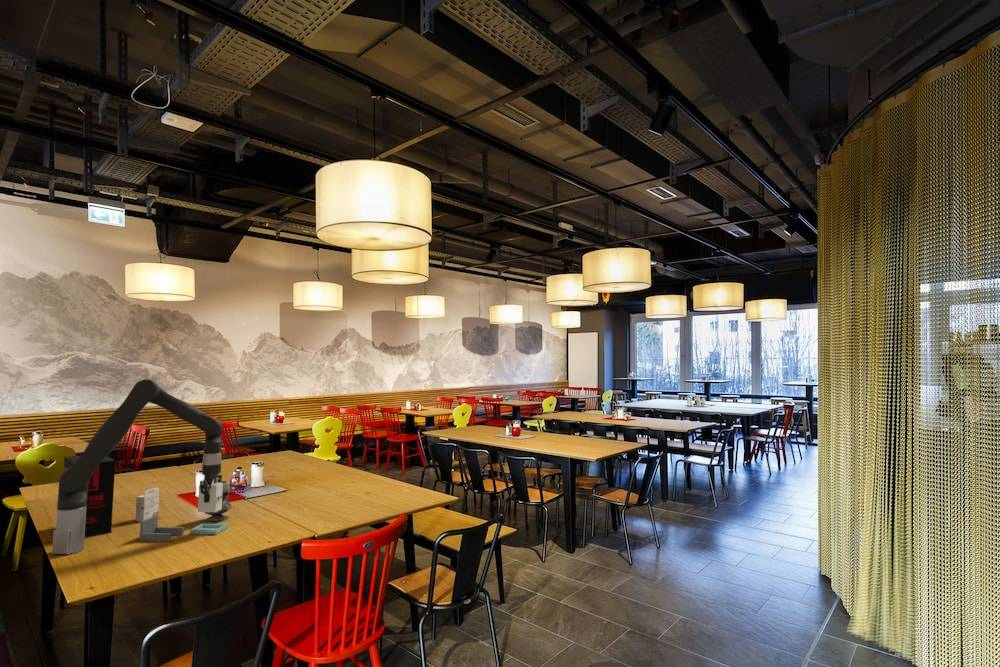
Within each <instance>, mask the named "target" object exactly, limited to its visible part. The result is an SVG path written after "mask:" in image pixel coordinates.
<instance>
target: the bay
mask: <svg viewBox="0 0 1000 667" xmlns="http://www.w3.org/2000/svg"><path fill="white" fill-rule="evenodd" d="M158 520H159V514H158V515H156V516H153V517H151V518H148V519H146V520H144V521H141V522H140V521H139V522H140V527H139V542H171V541H172V536H174V535H175V536H183V535H184V531H185V527H183V526H182V527H181V526H158V523H159V522H158Z"/></svg>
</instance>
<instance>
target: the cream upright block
mask: <svg viewBox="0 0 1000 667" xmlns="http://www.w3.org/2000/svg"><path fill="white" fill-rule="evenodd" d="M207 487H210V485H207ZM207 490H208V489H207ZM222 490H223V483H214V484H213V485H212V486H211V489H210V501H209V502H208V503H204V494H201V490H200V484H199V485H198V498H197V499H198V500H197V501H198V503H197V513H204V512H217V511H219V510H221V509H222V498H223V496H222ZM203 491H204V489H203Z"/></svg>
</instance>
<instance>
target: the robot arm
mask: <svg viewBox="0 0 1000 667" xmlns="http://www.w3.org/2000/svg"><path fill="white" fill-rule="evenodd" d="M133 385H134V386H133V387H132V388H131V389H130V392H129V393H128V395H127V397H126V398H125V399H124V401H123V402H122V403H121V405H119V407H117V408H116V410H115V411H113V413H112V414H110V416H109V417H108V418H107V419H106V420H105V421H104V422H103V424H102V425H101V426H100V427H99V428H98V429H97V431H96V432H95V434H94V435H93V436H92V438H91V439H90V441H89V442H88V444H87V445H86V447H85V449H84V451H83V452H82V454H81V455H79V456H80V458H79V459H78V460H77V461H76V462H75V463H74V464H73V465H72V466H71V467H70V468H67V469H66V470H64V469H63V471H62V472H61V473H60V475H59V478H58V491H57V492H58V495H57V504H56V505H57V506H56V521H55V522H56V523H55V529H54V530H53V533H52V534H53V535H52V547H51V548H52V549H51V550H52V552H51V554H52V553H53V554H65V555H64V556H67V555H66V554H68V555H71V553H72V554H75V553H79V552H81V551H83V550H84V549H85V539H86V538H85V523H86V507H87V490H88V480H89V479H90V477H91V476H92V474H93V473H94V471H95V470H96V468H97V467H98V465H99V464H100V463H101V462H102V461H103V459H104V458H105V457H106V456H109V455H110V454H111V452H112V451H113V450H114V449H115V448H116V447H117V446H118V445H119V443H120V442H121V441H122V440H123V439H124V437H125V436H126V435H127V433H128V431H129V430H130V428H132V425H133V424H134V422H135V420H136V418H137V416H138V415H139V414H140V413H141V411H142V410H143V409H144V408H145V407H146V406H147V404H148V403H151V404H153V405H156V406H159V407H161V408H163V409H165V410H166V411H168V412H169V413H171V414H173V415H174V416H176V417H177V418H180V419H181V420H182V421H184V422H186V423H188V424H190V425H192V426H195V427H196V428H197V429H198V430H200V431H202V432H203V433H205V434H204V437H205V438H204V439H205V440H204V443H203V457H202V464H201V465H202V467H201V468H202V470H201V474H202V475H204V478H203V480H200V481H199V485H200V490H201V494H204V503H208V502H209V501H210V489H211V486H212V485H213V484H214V483H221V481H223V480H222V479H223V475H222V474H221V473H222V436H223V422H222V421H221V419H219V418H217V417H216V418H214V417H212V416H210V415H208V414H206V413H205V412H204V411H202V410H201V409H200V408H198V407H196V406H193V405H192V404H189V403H188V402H186V401H184V400H182V399H180V398H177V397H175V396H173V395H172V394H170V393H168V392H167V391H165V390H164V389H163V388H162V387H160V386H159V384H158V383H157V382H156V381H154V380H152V379H148V378H147V379H141V380H139V381H138V382H136V383H134V384H133ZM207 485H210V487H207ZM203 489H204V491H203ZM207 489H208V490H207Z"/></svg>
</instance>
